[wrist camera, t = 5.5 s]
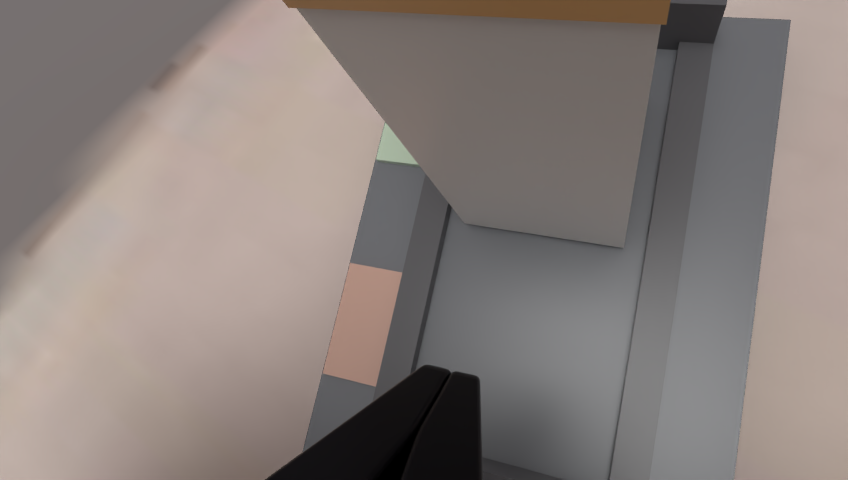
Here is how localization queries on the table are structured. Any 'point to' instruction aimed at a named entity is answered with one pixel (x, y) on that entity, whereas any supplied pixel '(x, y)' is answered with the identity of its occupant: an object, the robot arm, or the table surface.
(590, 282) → the switch board
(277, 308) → the table surface
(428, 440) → the robot arm
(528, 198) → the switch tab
